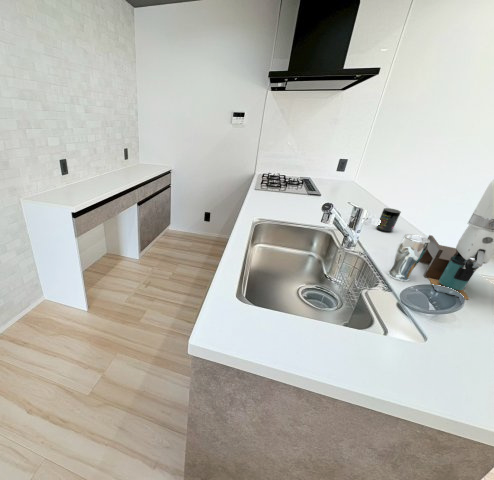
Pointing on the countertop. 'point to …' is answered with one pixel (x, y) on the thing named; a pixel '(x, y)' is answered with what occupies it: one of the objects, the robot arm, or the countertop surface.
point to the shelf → (436, 258)
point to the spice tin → (453, 274)
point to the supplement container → (388, 219)
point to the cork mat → (436, 282)
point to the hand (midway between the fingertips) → (457, 274)
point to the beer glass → (408, 256)
